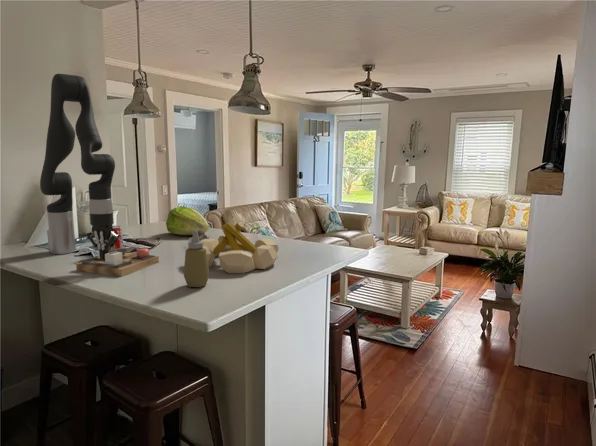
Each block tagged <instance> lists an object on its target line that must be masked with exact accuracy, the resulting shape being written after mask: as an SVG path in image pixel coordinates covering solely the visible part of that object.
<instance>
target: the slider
mask: <svg viewBox="0 0 596 446" xmlns="http://www.w3.org/2000/svg"><path fill="white" fill-rule="evenodd" d="M121 263H123V259H122V252H117V251H113V252H109V253H106V254H105V264H112V265H118V264H121Z"/></svg>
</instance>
